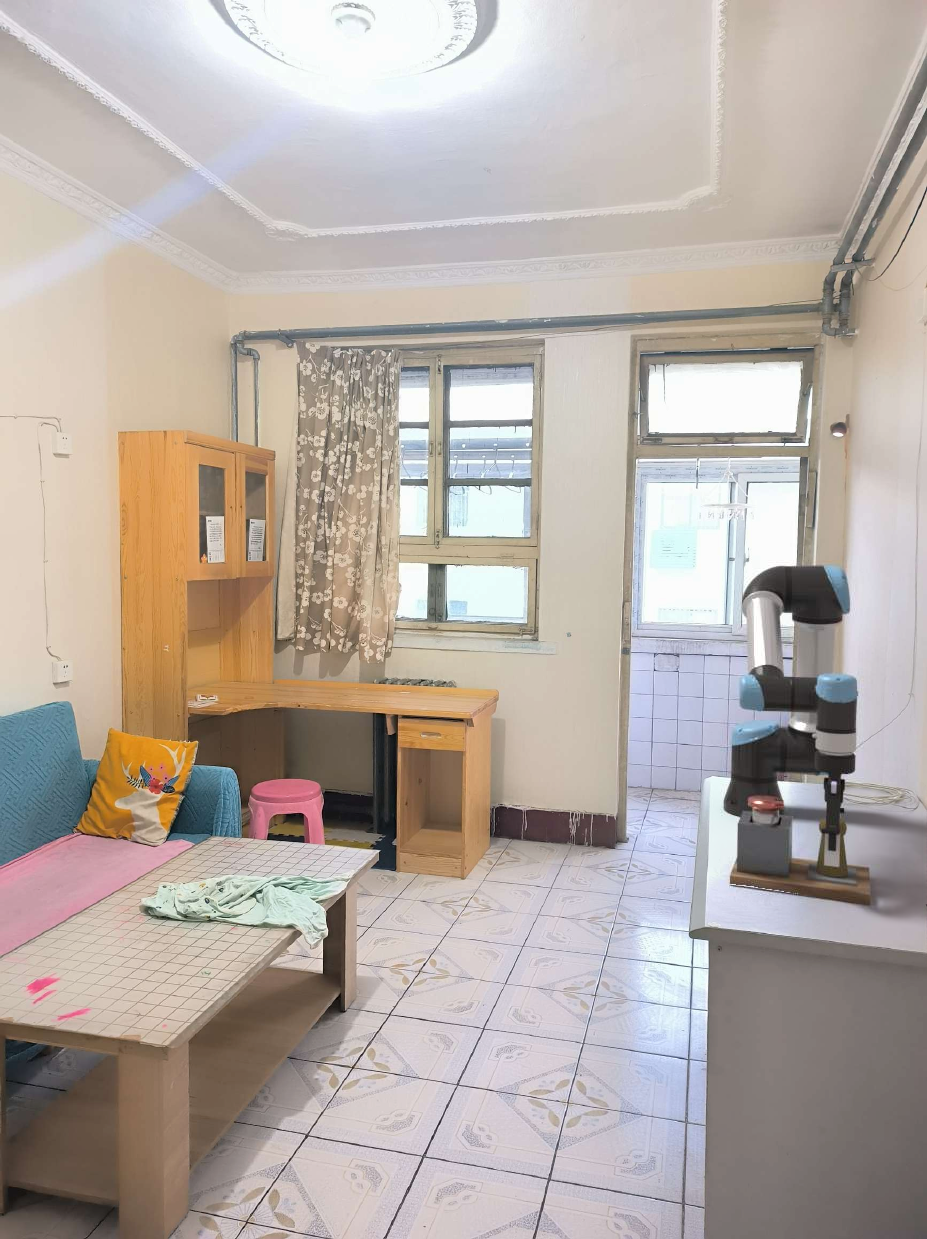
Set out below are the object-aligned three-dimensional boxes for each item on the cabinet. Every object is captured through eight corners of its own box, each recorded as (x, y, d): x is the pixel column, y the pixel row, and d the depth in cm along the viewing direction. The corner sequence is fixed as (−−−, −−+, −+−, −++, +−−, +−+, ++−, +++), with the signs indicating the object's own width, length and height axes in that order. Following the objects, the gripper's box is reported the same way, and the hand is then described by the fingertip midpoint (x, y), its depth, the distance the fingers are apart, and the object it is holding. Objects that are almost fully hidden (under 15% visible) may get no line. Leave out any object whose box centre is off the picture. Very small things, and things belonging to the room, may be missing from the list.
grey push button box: (742, 856, 191) (743, 810, 190) (791, 862, 187) (792, 816, 186) (736, 871, 182) (737, 823, 181) (788, 878, 178) (789, 829, 177)
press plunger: (749, 836, 188) (750, 794, 188) (784, 840, 185) (785, 797, 185) (745, 846, 182) (746, 802, 181) (781, 850, 179) (782, 806, 178)
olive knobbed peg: (849, 878, 175) (850, 824, 175) (816, 875, 177) (817, 821, 177) (846, 869, 181) (847, 816, 180) (815, 865, 183) (816, 813, 182)
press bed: (739, 860, 194) (739, 848, 194) (869, 876, 183) (869, 864, 183) (729, 885, 179) (729, 872, 179) (870, 905, 169) (870, 891, 169)
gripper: (817, 737, 190) (815, 834, 191) (812, 763, 167) (809, 872, 169) (855, 740, 187) (852, 838, 188) (855, 767, 164) (852, 878, 166)
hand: (832, 854), depth 179 cm, fingers open, 13 cm apart
